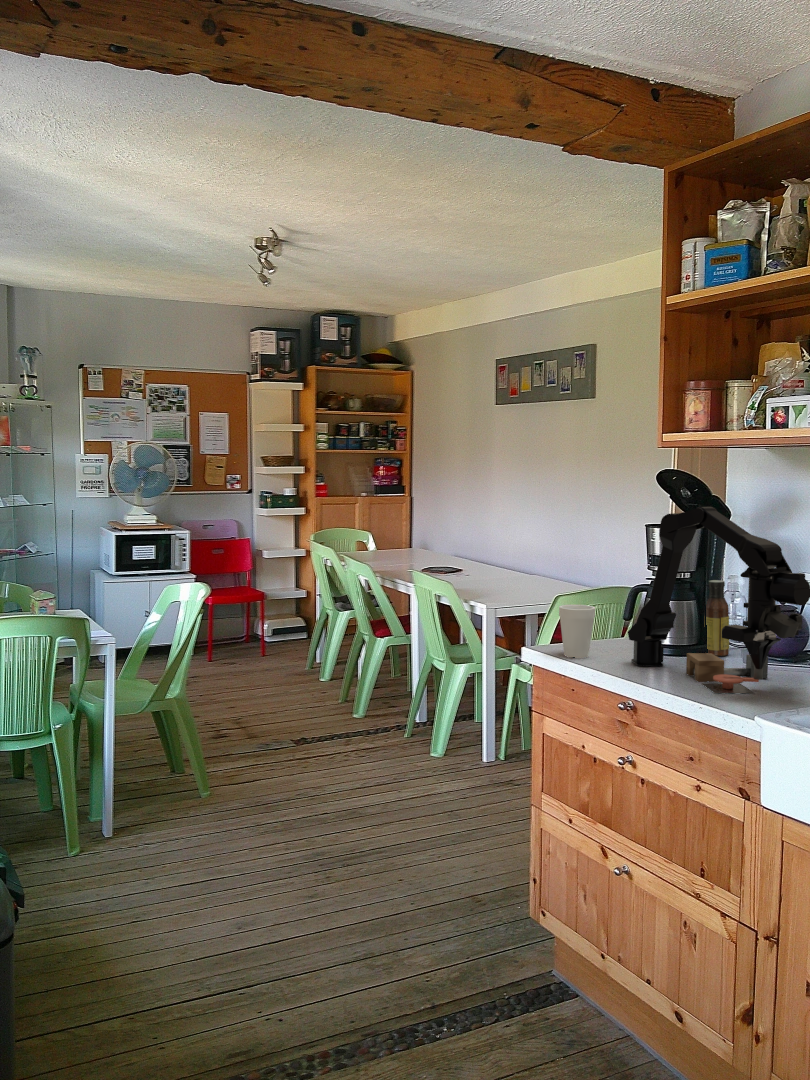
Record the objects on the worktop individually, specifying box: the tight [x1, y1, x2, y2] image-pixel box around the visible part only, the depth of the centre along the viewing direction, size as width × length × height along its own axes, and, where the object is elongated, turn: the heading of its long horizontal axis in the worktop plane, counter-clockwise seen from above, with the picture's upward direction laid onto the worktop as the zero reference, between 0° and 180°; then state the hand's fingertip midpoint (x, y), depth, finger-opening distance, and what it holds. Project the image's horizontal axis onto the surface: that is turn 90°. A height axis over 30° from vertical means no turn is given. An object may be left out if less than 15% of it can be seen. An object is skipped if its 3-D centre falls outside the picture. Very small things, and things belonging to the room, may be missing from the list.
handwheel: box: [713, 665, 764, 689], centre depth 210 cm, size 11×6×5 cm, turn 82°
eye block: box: [685, 652, 725, 683], centre depth 222 cm, size 6×9×5 cm
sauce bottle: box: [705, 579, 730, 657], centre depth 248 cm, size 7×6×20 cm
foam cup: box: [558, 604, 596, 659], centre depth 246 cm, size 10×9×13 cm
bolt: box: [692, 654, 769, 679], centre depth 222 cm, size 17×3×5 cm, turn 91°
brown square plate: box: [700, 682, 756, 695], centre depth 211 cm, size 9×9×1 cm
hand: (758, 668), depth 207 cm, fingers closed
